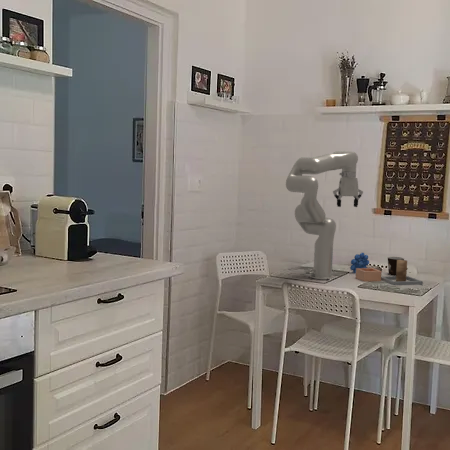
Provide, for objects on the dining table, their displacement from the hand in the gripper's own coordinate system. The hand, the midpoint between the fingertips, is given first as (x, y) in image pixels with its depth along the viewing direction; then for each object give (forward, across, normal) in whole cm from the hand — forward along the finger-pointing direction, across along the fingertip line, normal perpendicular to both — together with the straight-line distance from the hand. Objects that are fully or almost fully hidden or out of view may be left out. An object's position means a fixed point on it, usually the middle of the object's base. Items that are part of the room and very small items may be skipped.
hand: (347, 206), depth 337 cm
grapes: (+36, +6, -5) cm, 37 cm away
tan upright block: (+35, +16, -32) cm, 50 cm away
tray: (+36, +16, -32) cm, 51 cm away
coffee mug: (+36, +24, -12) cm, 45 cm away
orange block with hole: (+36, +2, -24) cm, 44 cm away
